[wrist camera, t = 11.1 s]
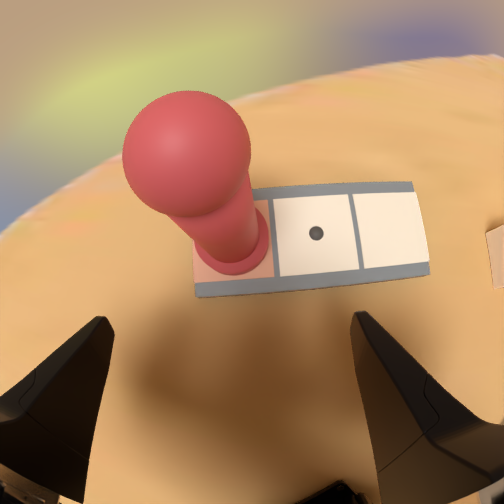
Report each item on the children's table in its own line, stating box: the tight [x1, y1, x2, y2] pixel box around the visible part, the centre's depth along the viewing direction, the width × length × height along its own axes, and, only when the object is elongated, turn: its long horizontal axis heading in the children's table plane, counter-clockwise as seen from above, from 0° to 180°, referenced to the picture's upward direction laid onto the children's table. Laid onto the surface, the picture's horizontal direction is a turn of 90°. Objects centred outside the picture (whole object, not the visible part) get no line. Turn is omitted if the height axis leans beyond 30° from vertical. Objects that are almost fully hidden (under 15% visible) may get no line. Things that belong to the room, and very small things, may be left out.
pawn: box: [122, 91, 269, 276], centre depth 12 cm, size 4×4×12 cm
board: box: [192, 182, 430, 298], centre depth 18 cm, size 15×6×1 cm, turn 94°
